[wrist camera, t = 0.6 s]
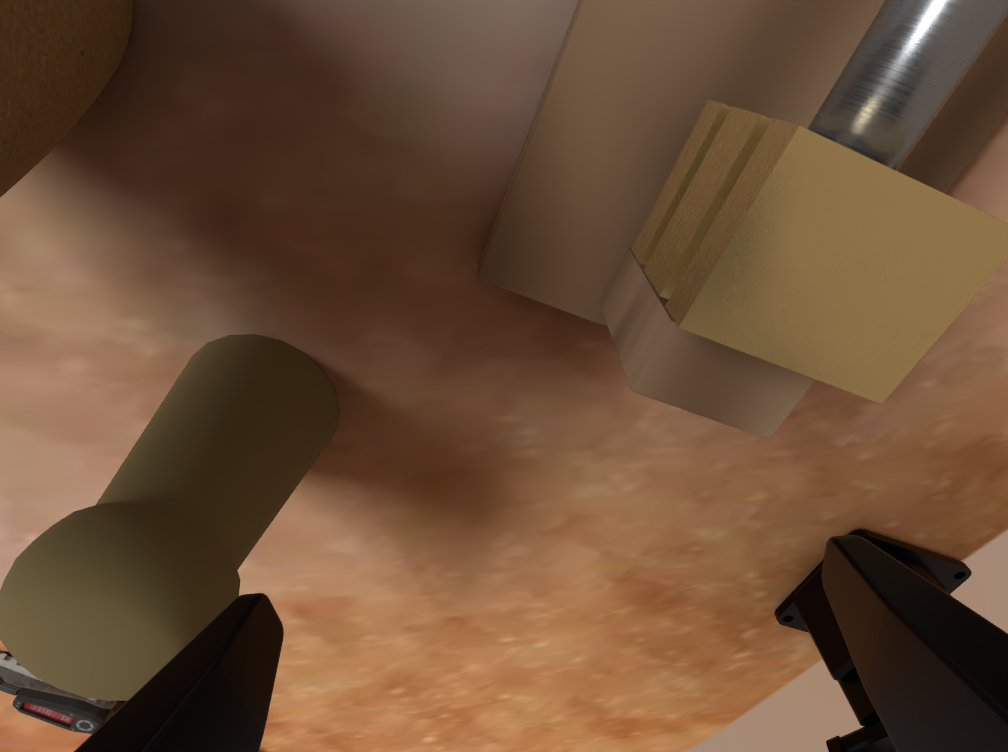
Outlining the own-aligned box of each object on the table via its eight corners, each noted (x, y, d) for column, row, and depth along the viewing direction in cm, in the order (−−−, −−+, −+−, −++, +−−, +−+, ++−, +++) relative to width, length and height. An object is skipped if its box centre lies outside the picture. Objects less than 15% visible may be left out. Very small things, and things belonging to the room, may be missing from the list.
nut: (876, 177, 15) (1029, 233, 10) (784, 310, 17) (881, 404, 12) (708, 99, 14) (799, 125, 10) (631, 249, 16) (678, 327, 11)
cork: (369, 401, 22) (269, 663, 13) (285, 486, 25) (146, 763, 15) (233, 302, 20) (-5, 528, 11) (154, 404, 23) (-101, 667, 13)
